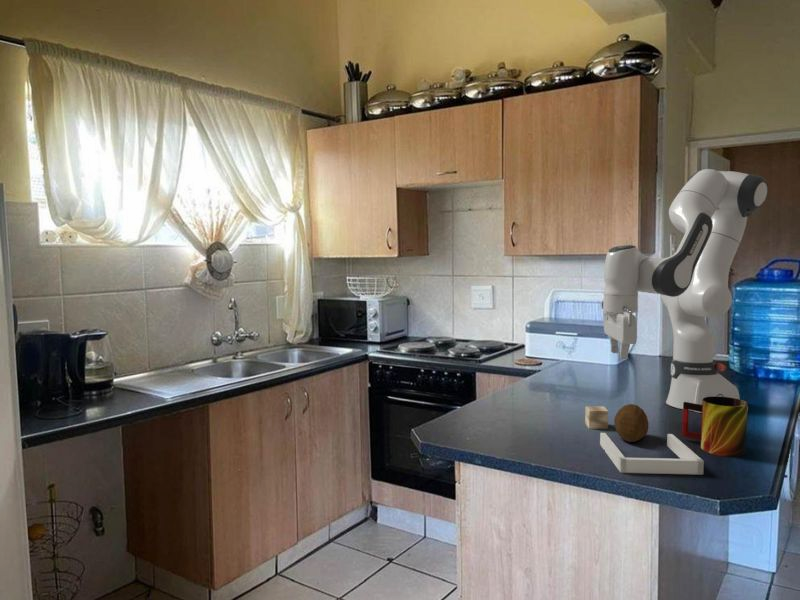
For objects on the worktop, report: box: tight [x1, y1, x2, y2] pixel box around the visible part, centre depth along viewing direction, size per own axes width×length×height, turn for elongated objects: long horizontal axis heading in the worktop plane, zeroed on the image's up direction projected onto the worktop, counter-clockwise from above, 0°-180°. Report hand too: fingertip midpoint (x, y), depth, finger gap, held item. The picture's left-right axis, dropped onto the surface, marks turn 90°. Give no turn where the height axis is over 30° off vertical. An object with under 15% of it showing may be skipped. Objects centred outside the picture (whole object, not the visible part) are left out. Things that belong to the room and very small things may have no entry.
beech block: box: [584, 405, 609, 430], centre depth 169 cm, size 5×5×5 cm
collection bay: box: [599, 432, 705, 476], centre depth 143 cm, size 17×19×3 cm
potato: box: [613, 403, 649, 443], centre depth 158 cm, size 8×12×9 cm
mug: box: [681, 396, 749, 458], centre depth 149 cm, size 10×14×12 cm
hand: (618, 355), depth 168 cm, fingers open, 8 cm apart
